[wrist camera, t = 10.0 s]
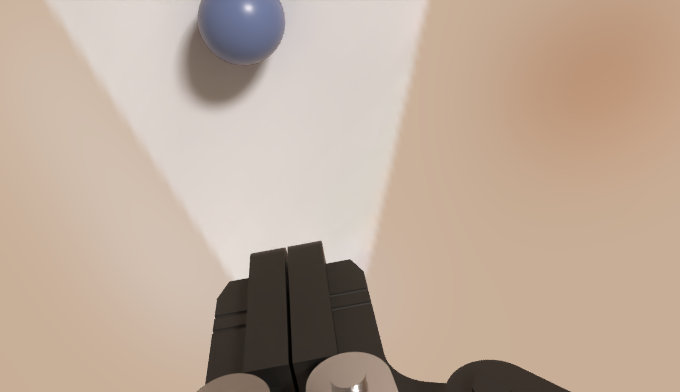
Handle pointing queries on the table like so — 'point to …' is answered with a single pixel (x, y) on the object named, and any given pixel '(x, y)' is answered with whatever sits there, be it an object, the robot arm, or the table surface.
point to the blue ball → (241, 28)
